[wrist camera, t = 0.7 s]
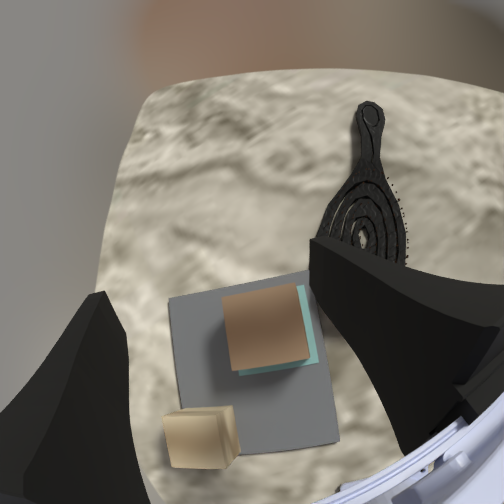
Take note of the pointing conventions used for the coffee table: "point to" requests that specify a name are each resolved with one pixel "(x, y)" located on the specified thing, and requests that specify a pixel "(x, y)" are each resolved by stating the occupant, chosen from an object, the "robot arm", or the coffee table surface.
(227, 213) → the coffee table surface
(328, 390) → the mat
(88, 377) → the robot arm
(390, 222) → the hairbrush
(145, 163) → the coffee table surface
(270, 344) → the walnut block
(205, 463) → the birch block
